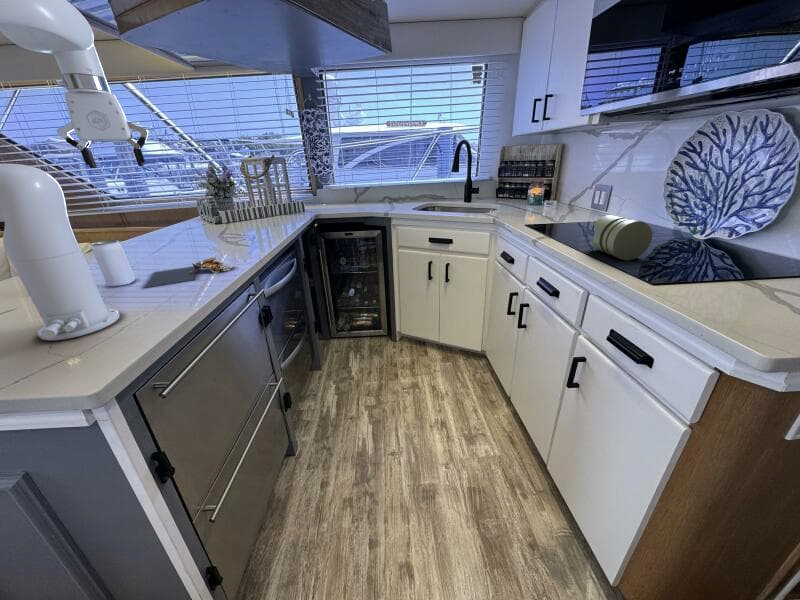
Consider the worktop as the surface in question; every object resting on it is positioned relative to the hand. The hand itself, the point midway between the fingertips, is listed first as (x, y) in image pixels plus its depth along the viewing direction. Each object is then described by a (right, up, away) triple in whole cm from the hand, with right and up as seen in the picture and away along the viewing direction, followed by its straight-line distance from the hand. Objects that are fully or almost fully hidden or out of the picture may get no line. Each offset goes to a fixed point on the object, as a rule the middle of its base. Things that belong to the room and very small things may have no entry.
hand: (118, 167), depth 81 cm
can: (-10, -29, +12) cm, 33 cm away
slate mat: (+2, -26, +17) cm, 31 cm away
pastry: (+12, -24, +21) cm, 34 cm away
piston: (+139, -20, +19) cm, 141 cm away
